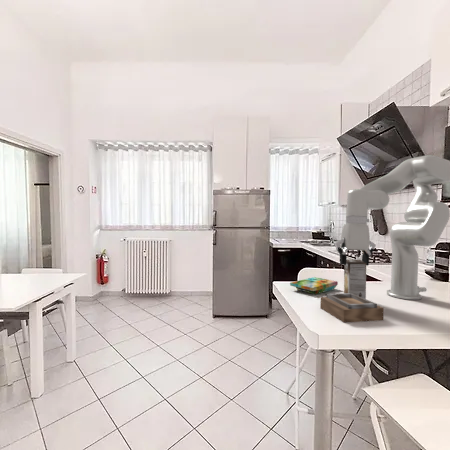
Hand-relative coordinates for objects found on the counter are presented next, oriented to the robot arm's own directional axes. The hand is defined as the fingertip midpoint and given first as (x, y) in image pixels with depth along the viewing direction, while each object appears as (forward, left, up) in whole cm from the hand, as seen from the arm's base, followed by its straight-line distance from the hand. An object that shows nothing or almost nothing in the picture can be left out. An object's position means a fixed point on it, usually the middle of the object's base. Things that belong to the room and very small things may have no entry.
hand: (354, 264), depth 108 cm
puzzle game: (+6, -19, -15) cm, 25 cm away
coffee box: (-1, 0, -15) cm, 15 cm away
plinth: (+10, +13, -15) cm, 22 cm away
